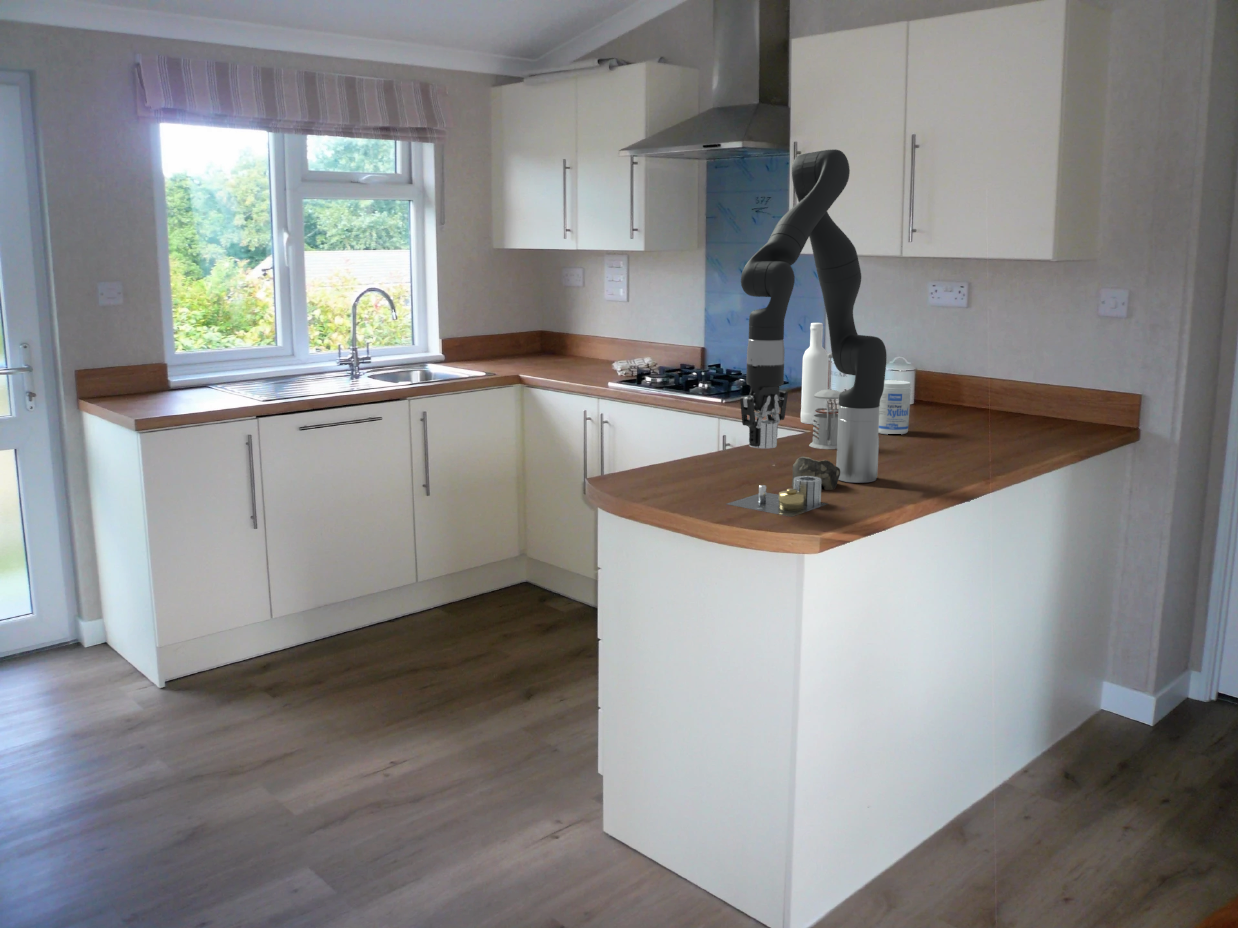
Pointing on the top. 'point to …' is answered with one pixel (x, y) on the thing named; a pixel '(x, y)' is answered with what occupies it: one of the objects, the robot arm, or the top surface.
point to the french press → (826, 420)
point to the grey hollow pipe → (809, 489)
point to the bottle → (814, 375)
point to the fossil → (817, 471)
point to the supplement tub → (894, 407)
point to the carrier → (777, 502)
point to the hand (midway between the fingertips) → (763, 443)
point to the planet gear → (768, 434)
